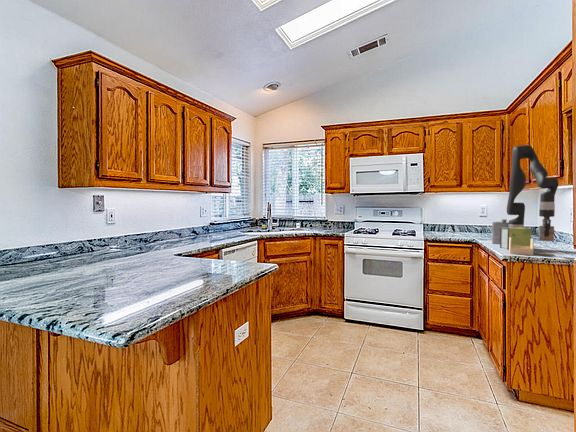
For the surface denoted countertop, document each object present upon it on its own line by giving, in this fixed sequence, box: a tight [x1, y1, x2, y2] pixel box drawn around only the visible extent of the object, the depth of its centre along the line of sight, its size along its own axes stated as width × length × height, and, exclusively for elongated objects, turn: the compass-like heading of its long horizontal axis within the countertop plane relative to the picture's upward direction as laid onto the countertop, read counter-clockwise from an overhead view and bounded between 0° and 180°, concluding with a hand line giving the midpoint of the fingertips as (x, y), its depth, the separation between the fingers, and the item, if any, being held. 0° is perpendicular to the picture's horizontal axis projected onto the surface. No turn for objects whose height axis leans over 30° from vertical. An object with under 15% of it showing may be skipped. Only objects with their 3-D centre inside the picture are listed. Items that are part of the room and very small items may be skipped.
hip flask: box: [491, 218, 509, 245], centre depth 261 cm, size 16×4×20 cm, turn 49°
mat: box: [535, 252, 556, 257], centre depth 208 cm, size 10×9×1 cm
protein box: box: [499, 227, 532, 251], centre depth 233 cm, size 10×15×16 cm
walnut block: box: [538, 225, 555, 242], centre depth 208 cm, size 5×7×9 cm
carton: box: [508, 237, 534, 256], centre depth 215 cm, size 13×12×10 cm
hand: (546, 235), depth 208 cm, fingers closed on walnut block, 5 cm apart
